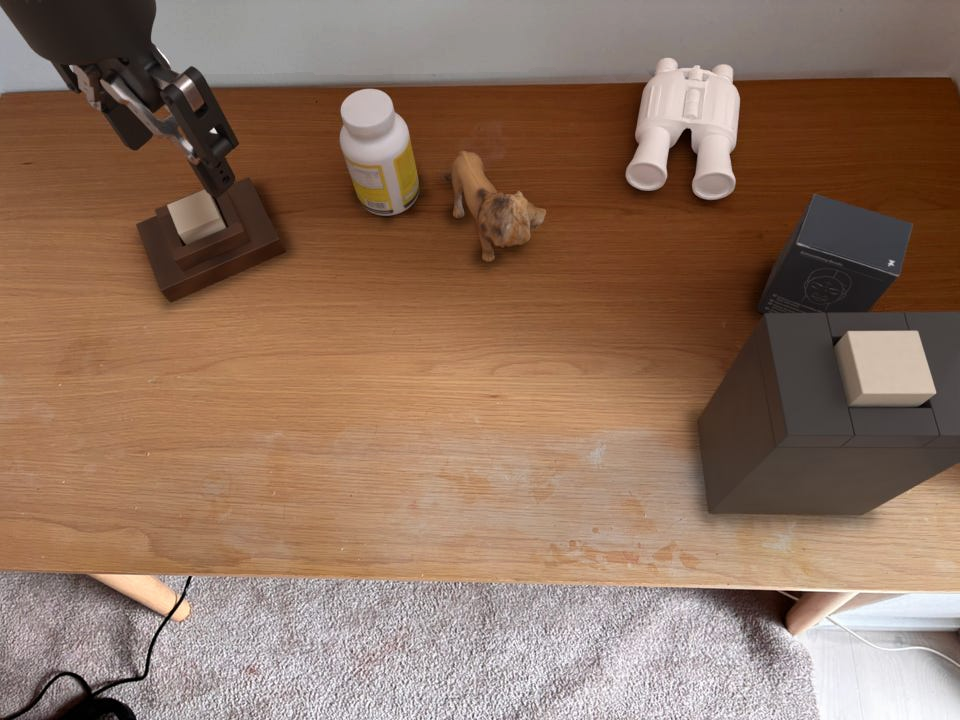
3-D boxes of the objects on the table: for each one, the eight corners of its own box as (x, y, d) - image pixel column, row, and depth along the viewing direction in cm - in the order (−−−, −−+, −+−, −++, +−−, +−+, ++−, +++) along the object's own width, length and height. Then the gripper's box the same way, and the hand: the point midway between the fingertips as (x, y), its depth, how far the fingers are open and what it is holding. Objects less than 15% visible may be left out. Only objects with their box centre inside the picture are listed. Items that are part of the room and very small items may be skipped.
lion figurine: (550, 261, 66) (554, 200, 58) (505, 289, 65) (503, 231, 57) (464, 168, 72) (458, 101, 64) (422, 192, 71) (410, 127, 63)
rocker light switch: (170, 303, 66) (150, 280, 63) (146, 237, 70) (126, 212, 66) (286, 252, 68) (273, 227, 65) (256, 190, 72) (242, 164, 68)
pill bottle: (419, 167, 72) (403, 77, 62) (421, 216, 69) (404, 130, 59) (358, 172, 72) (331, 84, 62) (357, 221, 70) (329, 137, 59)
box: (856, 294, 63) (916, 222, 53) (841, 344, 61) (901, 278, 51) (771, 265, 65) (814, 190, 55) (753, 312, 63) (795, 242, 53)
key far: (186, 245, 65) (178, 234, 63) (174, 216, 66) (166, 204, 65) (226, 228, 65) (219, 217, 64) (214, 200, 67) (206, 188, 66)
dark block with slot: (708, 513, 55) (787, 435, 39) (696, 420, 58) (764, 312, 42) (863, 515, 54) (1009, 436, 38) (841, 420, 58) (967, 311, 41)
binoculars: (622, 190, 70) (628, 158, 65) (642, 79, 76) (649, 43, 72) (727, 206, 68) (741, 173, 64) (738, 91, 75) (751, 55, 71)
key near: (846, 408, 40) (862, 393, 38) (832, 347, 42) (847, 330, 40) (917, 407, 40) (937, 393, 38) (900, 346, 42) (918, 330, 40)
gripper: (-93, -57, 37) (79, 159, 51) (81, 33, 33) (215, 241, 47) (18, -127, 39) (152, 98, 54) (193, -52, 35) (287, 170, 50)
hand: (181, 164), depth 50 cm, fingers open, 8 cm apart
